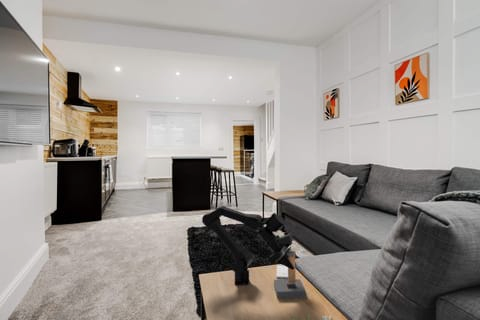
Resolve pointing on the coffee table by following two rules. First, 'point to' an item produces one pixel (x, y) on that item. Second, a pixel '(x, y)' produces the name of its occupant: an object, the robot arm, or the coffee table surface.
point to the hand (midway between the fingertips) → (294, 267)
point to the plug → (291, 272)
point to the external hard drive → (282, 272)
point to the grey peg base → (289, 289)
